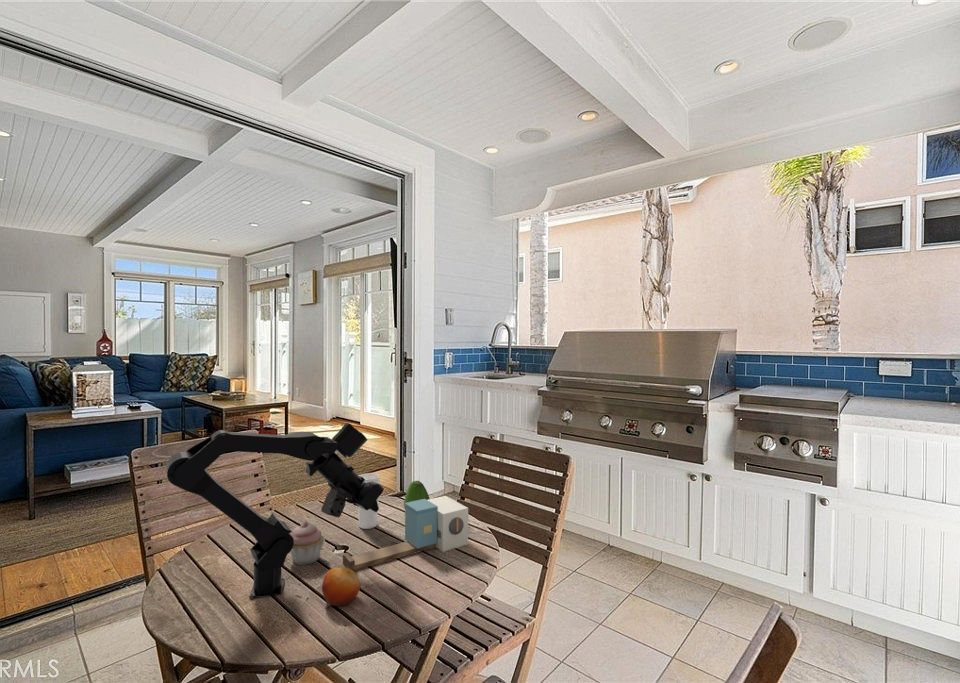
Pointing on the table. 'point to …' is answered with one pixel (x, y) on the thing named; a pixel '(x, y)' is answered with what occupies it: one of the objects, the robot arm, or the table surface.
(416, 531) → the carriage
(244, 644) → the table surface
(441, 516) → the cabinet
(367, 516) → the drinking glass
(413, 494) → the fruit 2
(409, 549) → the rail
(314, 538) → the cupcake
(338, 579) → the fruit
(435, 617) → the table surface
